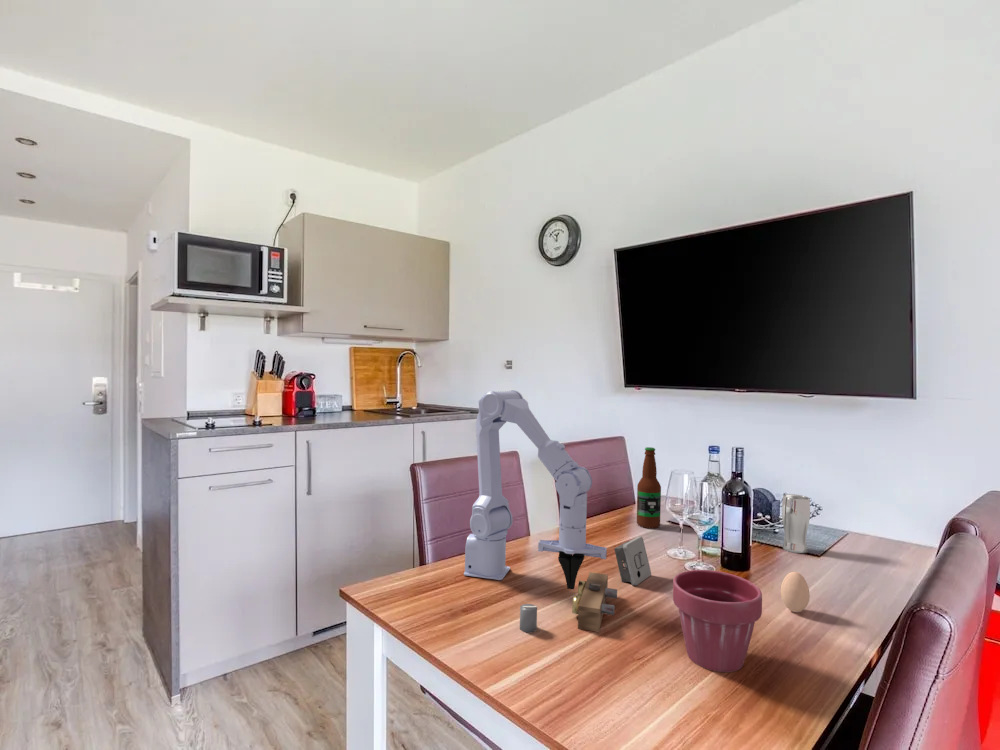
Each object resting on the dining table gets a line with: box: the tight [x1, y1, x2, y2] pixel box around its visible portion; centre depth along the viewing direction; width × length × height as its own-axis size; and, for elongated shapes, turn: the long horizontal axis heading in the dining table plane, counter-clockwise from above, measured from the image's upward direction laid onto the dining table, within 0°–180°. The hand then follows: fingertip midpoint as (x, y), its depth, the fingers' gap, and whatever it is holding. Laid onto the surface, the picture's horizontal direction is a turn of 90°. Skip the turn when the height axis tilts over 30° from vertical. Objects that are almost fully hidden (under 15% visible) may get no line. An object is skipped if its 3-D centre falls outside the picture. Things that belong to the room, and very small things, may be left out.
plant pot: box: [672, 569, 763, 673], centre depth 92 cm, size 14×14×13 cm
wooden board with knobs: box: [577, 571, 609, 633], centre depth 110 cm, size 4×18×5 cm, turn 164°
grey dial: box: [519, 603, 538, 634], centre depth 101 cm, size 3×3×4 cm
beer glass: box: [781, 493, 811, 554], centre depth 150 cm, size 7×7×15 cm
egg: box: [780, 571, 811, 613], centre depth 111 cm, size 5×5×8 cm
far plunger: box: [577, 580, 618, 599], centre depth 113 cm, size 8×3×3 cm, turn 74°
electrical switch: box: [614, 536, 652, 587], centre depth 127 cm, size 9×5×9 cm, turn 141°
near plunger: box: [571, 594, 616, 616], centre depth 106 cm, size 8×3×3 cm, turn 74°
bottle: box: [636, 447, 662, 530], centre depth 171 cm, size 7×7×25 cm
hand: (571, 587), depth 115 cm, fingers closed
